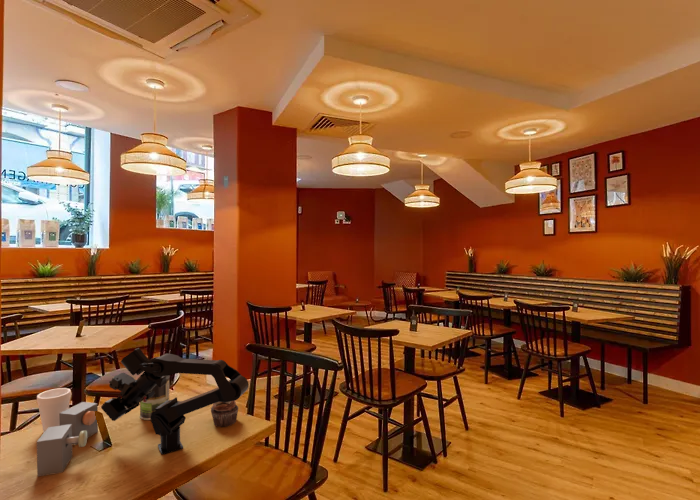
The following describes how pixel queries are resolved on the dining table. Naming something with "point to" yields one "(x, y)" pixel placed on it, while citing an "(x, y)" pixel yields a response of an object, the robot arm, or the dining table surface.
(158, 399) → the coffee can
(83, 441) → the sage button
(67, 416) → the right button box
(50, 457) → the left button box
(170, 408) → the robot arm
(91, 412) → the terracotta button
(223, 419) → the cupcake
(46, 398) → the foam cup
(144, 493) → the dining table surface
